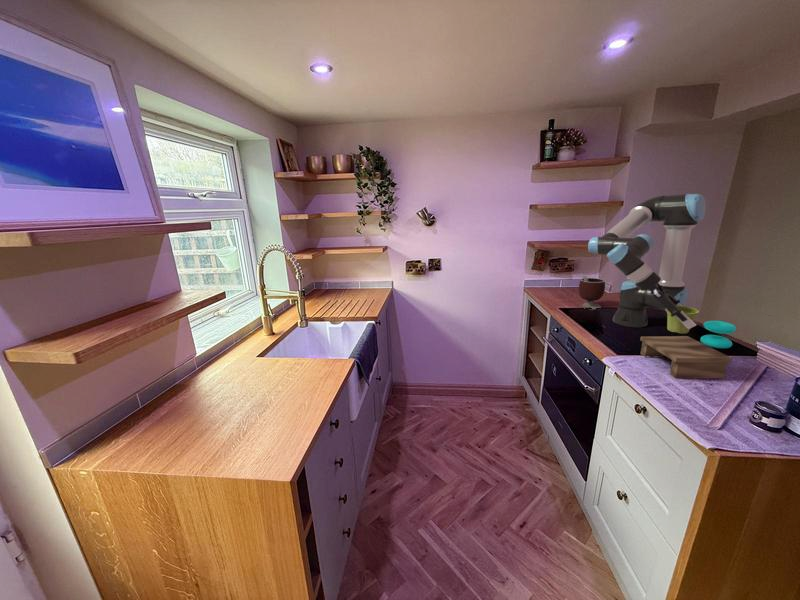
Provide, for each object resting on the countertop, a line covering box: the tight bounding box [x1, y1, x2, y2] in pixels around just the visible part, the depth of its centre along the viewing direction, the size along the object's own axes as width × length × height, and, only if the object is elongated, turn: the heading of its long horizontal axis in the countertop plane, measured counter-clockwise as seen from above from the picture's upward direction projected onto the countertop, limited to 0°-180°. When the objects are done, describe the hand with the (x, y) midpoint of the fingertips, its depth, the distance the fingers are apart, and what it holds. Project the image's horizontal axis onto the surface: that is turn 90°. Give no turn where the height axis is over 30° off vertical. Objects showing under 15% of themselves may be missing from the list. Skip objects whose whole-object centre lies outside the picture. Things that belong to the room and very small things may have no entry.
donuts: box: [699, 320, 737, 349], centre depth 136 cm, size 10×10×10 cm
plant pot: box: [665, 305, 700, 334], centre depth 118 cm, size 9×9×9 cm
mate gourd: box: [578, 272, 606, 310], centre depth 195 cm, size 16×14×20 cm
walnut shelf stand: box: [640, 335, 733, 379], centre depth 122 cm, size 20×18×8 cm
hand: (690, 322), depth 116 cm, fingers closed on plant pot, 9 cm apart
